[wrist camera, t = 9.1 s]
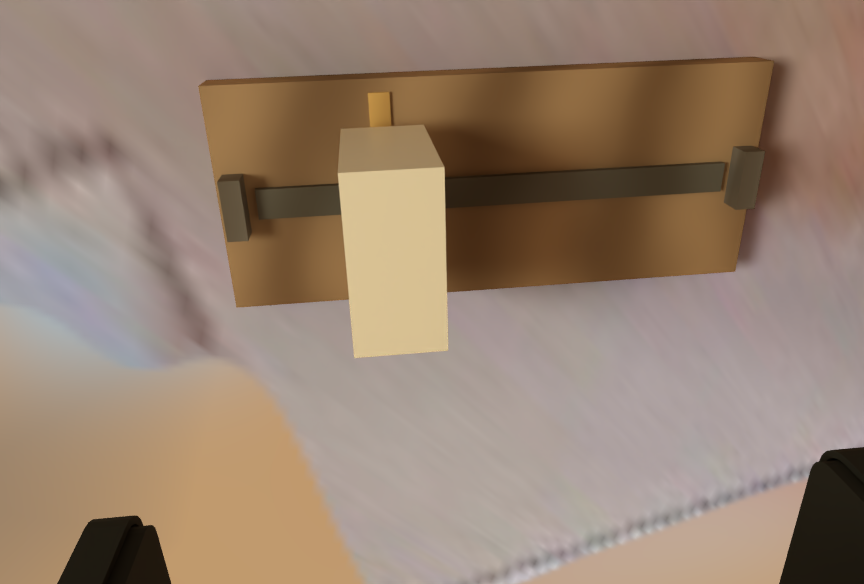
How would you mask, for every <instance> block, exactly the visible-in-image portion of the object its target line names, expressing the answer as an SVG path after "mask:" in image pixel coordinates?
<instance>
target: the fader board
mask: <svg viewBox="0 0 864 584" xmlns="http://www.w3.org/2000/svg"><path fill="white" fill-rule="evenodd" d="M773 65H774V61H772V60H767V59H762V58H757V57H738V58H715V59H692V60H668V61H645V62H622V63H598V64H575V65H552V66H528V67H505V68H482V69H458V70H435V71H412V72H388V73H365V74H342V75H319V76H295V77H272V78H249V79H225V80H206V81H205V82H203V83H202V84H201V85H199V86H198V87H199V93H200V99H201V104H202V110H203V116H204V122H205V128H206V133H207V139H208V145H209V151H210V156H211V162H212V168H213V174H214V180H215V185H216V191H217V197H218V203H219V208H220V214H221V220H222V226H223V232H224V237H225V243H226V249H227V255H228V260H229V266H230V272H231V278H232V284H233V289H234V295H235V301H236V307H250V306H264V305H277V304H291V303H305V302H319V301H333V300H347V299H349V293H348V282H347V271H346V259H345V248H344V237H343V226H342V215H341V204H340V193H339V182H338V161H339V147H340V132H341V129H347V128H367V127H387V126H407V125H424V126H425V128H426V130H427V132H428V135H429V137H430V139H431V141H432V143H433V145H434V147H435V149H436V151H437V153H438V155H439V157H440V159H441V161H442V163H443V165H444V169H445V221H446V272H447V292H457V291H471V290H485V289H499V288H513V287H527V286H541V285H554V284H568V283H582V282H596V281H610V280H624V279H637V278H651V277H665V276H679V275H693V274H707V273H721V272H734V271H735V269H736V264H737V258H738V253H739V248H740V242H741V237H742V231H743V226H744V221H745V215H746V210H747V209H754V207H755V202H756V197H757V192H758V186H759V181H760V176H761V171H762V165H763V160H764V155H765V151H764V150H761V149H759V148H758V145H759V140H760V135H761V129H762V124H763V118H764V113H765V108H766V102H767V97H768V92H769V86H770V81H771V75H772V70H773Z"/></svg>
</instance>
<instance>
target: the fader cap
mask: <svg viewBox="0 0 864 584" xmlns="http://www.w3.org/2000/svg"><path fill="white" fill-rule="evenodd" d="M338 182H339V193H340V204H341V215H342V226H343V237H344V248H345V259H346V271H347V282H348V293H349V304H350V315H351V326H352V337H353V348H354V358H360V357H372V356H385V355H397V354H410V353H422V352H435V351H447V350H448V324H447V272H446V221H445V169H444V165H443V163H442V161H441V159H440V157H439V155H438V153H437V151H436V149H435V147H434V145H433V143H432V141H431V139H430V137H429V135H428V132H427V130H426V128H425V126H424V125H407V126H387V127H367V128H347V129H341V132H340V147H339V161H338Z"/></svg>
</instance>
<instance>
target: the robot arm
mask: <svg viewBox="0 0 864 584" xmlns="http://www.w3.org/2000/svg"><path fill="white" fill-rule="evenodd" d="M57 584H171V581H170V578H169V574H168V570H167V567H166V563H165V560H164V556H163V553H162V549H161V546H160V542H159V538H158V535H157V532H156V529H155V527H154V526H152V525H148V526H143V524H142V521H141V519H140V518H139V517H138V516H125V517H114V518H103V519H93V520H91V521H90V522H89V523H88V524H87V526H86V527H85V529H84V531H83V533H82V535H81V537H80V539H79V541H78V543H77V545H76V547H75V549H74V551H73V553H72V555H71V557H70V559H69V561H68V563H67V565H66V567H65V569H64V571H63V573H62V575H61V577H60V580H59V581H58V583H57ZM779 584H864V447H861V448H850V449H839V450H830V451H826V452H825V453H824V454H823V455H822V456H821V458H820V461H819V462H816V463H815V464H814V465H813V466H812V468H811V471H810V475H809V478H808V482H807V486H806V489H805V493H804V497H803V500H802V504H801V507H800V511H799V515H798V518H797V522H796V525H795V529H794V533H793V536H792V540H791V543H790V547H789V550H788V554H787V558H786V561H785V565H784V569H783V572H782V576H781V579H780V583H779Z"/></svg>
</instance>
